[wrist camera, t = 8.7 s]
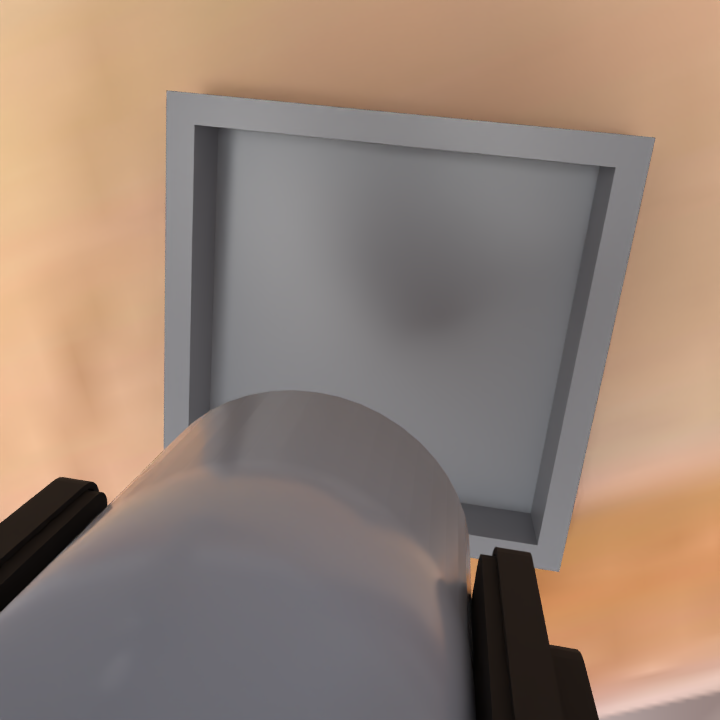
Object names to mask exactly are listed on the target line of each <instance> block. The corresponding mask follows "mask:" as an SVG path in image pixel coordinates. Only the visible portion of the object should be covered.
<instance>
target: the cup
mask: <svg viewBox="0 0 720 720" xmlns="http://www.w3.org/2000/svg"><path fill="white" fill-rule="evenodd" d="M0 720H476V700H475V674H474V649H473V623H472V593H471V568H470V546H469V533H468V528H467V523H466V518H465V514H464V511H463V509H462V506H461V503H460V500H459V498H458V495H457V493H456V491H455V489H454V487H453V485H452V484H451V482H450V480H449V478H448V476H447V475H446V473H445V472H444V470H443V469H442V468H441V466H440V465H439V463H438V462H437V461H436V459H435V458H434V457H433V456H432V455H431V454H430V453H429V451H428V450H427V449H426V448H425V447H424V446H423V445H422V444H421V443H420V442H419V441H418V440H417V439H416V438H414V437H413V436H412V435H411V434H410V433H408V432H407V431H406V430H405V429H404V428H402V427H401V426H400V425H398V424H396V423H395V422H393V421H392V420H390V419H389V418H387V417H385V416H384V415H382V414H380V413H378V412H376V411H374V410H372V409H370V408H368V407H366V406H364V405H362V404H359V403H356V402H353V401H350V400H347V399H344V398H341V397H338V396H333V395H329V394H324V393H319V392H311V391H299V390H283V391H268V392H263V393H257V394H252V395H247V396H244V397H241V398H238V399H235V400H232V401H229V402H227V403H225V404H223V405H221V406H218V407H216V408H214V409H212V410H210V411H209V412H207V413H206V414H204V415H203V416H201V417H200V418H198V419H197V420H195V421H194V422H193V423H192V424H191V425H189V426H188V427H187V428H186V429H185V430H184V431H183V432H182V433H181V434H180V435H179V436H178V437H177V438H176V439H175V440H174V441H172V442H171V443H170V444H169V445H168V446H167V447H166V448H165V449H164V450H163V451H162V452H161V453H160V454H159V455H158V456H157V457H156V458H155V459H154V460H153V461H152V462H151V463H150V464H149V465H148V466H147V467H146V468H145V469H144V470H143V471H142V472H141V473H140V474H139V475H138V476H137V477H136V478H135V479H134V480H133V481H132V482H131V483H130V484H129V485H128V486H127V487H126V488H125V489H124V490H123V491H122V492H121V493H120V494H119V495H118V496H117V497H116V498H115V499H114V500H113V501H112V502H111V503H110V504H109V505H108V506H107V507H106V508H105V509H104V510H103V511H102V512H101V513H100V514H99V515H98V516H97V517H96V518H95V519H94V520H93V521H92V522H91V523H90V524H89V525H88V526H87V527H86V528H85V529H84V530H83V531H82V532H81V533H80V534H79V535H78V536H77V537H76V538H75V539H74V540H73V541H72V542H71V543H70V544H69V545H68V546H67V547H66V548H65V549H64V550H63V551H62V552H61V553H60V554H59V555H58V556H57V557H56V558H55V559H54V560H53V561H52V562H51V563H50V564H49V565H48V566H47V567H46V568H45V569H44V570H43V571H42V572H41V573H40V574H39V575H38V576H37V577H36V578H35V579H34V580H32V581H31V582H30V583H29V584H28V585H27V586H26V587H25V588H24V589H23V590H22V591H21V592H20V593H19V594H18V595H17V596H16V597H15V598H14V599H13V600H12V601H11V602H10V603H9V604H8V605H7V606H6V607H5V608H4V609H3V610H2V611H1V612H0Z"/></svg>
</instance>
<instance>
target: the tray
mask: <svg viewBox="0 0 720 720" xmlns="http://www.w3.org/2000/svg"><path fill="white" fill-rule="evenodd" d="M654 142H655V138H653V137H643V136H632V135H622V134H612V133H601V132H591V131H581V130H570V129H560V128H550V127H539V126H529V125H518V124H508V123H498V122H487V121H477V120H467V119H456V118H446V117H436V116H425V115H415V114H405V113H394V112H384V111H373V110H363V109H353V108H342V107H332V106H322V105H311V104H301V103H291V102H280V101H270V100H260V99H249V98H239V97H228V96H218V95H208V94H197V93H187V92H177V91H167V103H166V232H165V362H164V449H165V448H166V447H167V446H168V445H169V444H170V443H171V442H172V441H174V440H175V439H176V438H177V437H178V436H179V435H180V434H181V433H182V432H183V431H184V430H185V429H186V428H187V427H188V426H189V425H191V424H192V423H193V422H194V421H195V420H197V419H198V418H200V417H201V416H203V415H204V414H206V413H207V412H209V411H210V410H212V409H214V408H216V407H218V406H221V405H223V404H225V403H227V402H229V401H232V400H235V399H238V398H241V397H244V396H247V395H252V394H257V393H263V392H268V391H283V390H299V391H311V392H319V393H324V394H329V395H333V396H338V397H341V398H344V399H347V400H350V401H353V402H356V403H359V404H362V405H364V406H366V407H368V408H370V409H372V410H374V411H376V412H378V413H380V414H382V415H384V416H385V417H387V418H389V419H390V420H392V421H393V422H395V423H396V424H398V425H400V426H401V427H402V428H404V429H405V430H406V431H407V432H408V433H410V434H411V435H412V436H413V437H414V438H416V439H417V440H418V441H419V442H420V443H421V444H422V445H423V446H424V447H425V448H426V449H427V450H428V451H429V453H430V454H431V455H432V456H433V457H434V458H435V459H436V461H437V462H438V463H439V465H440V466H441V468H442V469H443V470H444V472H445V473H446V475H447V476H448V478H449V480H450V482H451V484H452V485H453V487H454V489H455V491H456V493H457V495H458V498H459V500H460V503H461V506H462V509H463V511H464V514H465V518H466V523H467V528H468V533H469V546H470V558H476V559H479V556H480V554H484V555H491V556H492V553H493V550H494V548H495V547H500V548H506V549H512V550H519V551H525V552H530V553H531V555H532V558H533V564H534V568H538V569H545V570H551V571H557V572H559V570H560V566H561V561H562V557H563V552H564V548H565V543H566V539H567V534H568V530H569V525H570V521H571V516H572V512H573V507H574V503H575V498H576V494H577V489H578V485H579V480H580V475H581V471H582V466H583V462H584V457H585V453H586V448H587V444H588V439H589V435H590V430H591V426H592V421H593V417H594V412H595V408H596V403H597V399H598V394H599V390H600V385H601V381H602V376H603V372H604V367H605V363H606V358H607V354H608V349H609V345H610V340H611V336H612V331H613V327H614V322H615V318H616V313H617V309H618V304H619V300H620V295H621V291H622V286H623V281H624V277H625V272H626V268H627V263H628V259H629V254H630V250H631V245H632V241H633V236H634V232H635V227H636V223H637V218H638V214H639V209H640V205H641V200H642V196H643V191H644V187H645V182H646V178H647V173H648V169H649V164H650V160H651V155H652V151H653V146H654Z"/></svg>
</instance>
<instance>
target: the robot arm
mask: <svg viewBox="0 0 720 720" xmlns="http://www.w3.org/2000/svg"><path fill="white" fill-rule="evenodd" d="M106 507H107V497H106V495H105V494H104V493H102V492H99V489H98V487H97V485H96V484H95V483H94V482H90V481H83V480H77V479H71V478H65V477H59V478H57V479H55V480H54V481H53V482H51V483H50V484H49V485H48V486H46V487H45V488H44V489H43V490H41V491H40V492H39V493H38V494H36V495H35V496H34V497H33V498H31V499H30V500H29V501H28V502H26V503H25V504H24V505H23V506H21V507H20V508H19V509H18V510H16V511H15V512H14V513H13V514H11V515H10V516H9V517H7V518H6V519H5V520H4V521H2V522H1V523H0V612H1V611H2V610H3V609H4V608H5V607H6V606H7V605H8V604H9V603H10V602H11V601H12V600H13V599H14V598H15V597H16V596H17V595H18V594H19V593H20V592H21V591H22V590H23V589H24V588H25V587H26V586H27V585H28V584H29V583H30V582H31V581H32V580H34V579H35V578H36V577H37V576H38V575H39V574H40V573H41V572H42V571H43V570H44V569H45V568H46V567H47V566H48V565H49V564H50V563H51V562H52V561H53V560H54V559H55V558H56V557H57V556H58V555H59V554H60V553H61V552H62V551H63V550H64V549H65V548H66V547H67V546H68V545H69V544H70V543H71V542H72V541H73V540H74V539H75V538H76V537H77V536H78V535H79V534H80V533H81V532H82V531H83V530H84V529H85V528H86V527H87V526H88V525H89V524H90V523H91V522H92V521H93V520H94V519H95V518H96V517H97V516H98V515H99V514H100V513H101V512H102V511H103V510H104V509H105V508H106ZM472 623H473V649H474V674H475V700H476V720H599V718H598V714H597V710H596V706H595V702H594V699H593V695H592V691H591V687H590V683H589V679H588V675H587V671H586V667H585V664H584V660H583V657H582V655H581V653H580V652H579V651H578V650H577V649H571V648H566V647H560V646H554V645H549V641H548V635H547V630H546V625H545V620H544V615H543V610H542V605H541V600H540V594H539V589H538V584H537V579H536V574H535V569H534V564H533V558H532V555H531V553H530V552H525V551H519V550H512V549H506V548H500V547H495V548H494V550H493V553H492V556H491V555H484V554H480V556H479V561H478V566H477V571H476V577H475V583H474V588H473V594H472Z"/></svg>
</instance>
